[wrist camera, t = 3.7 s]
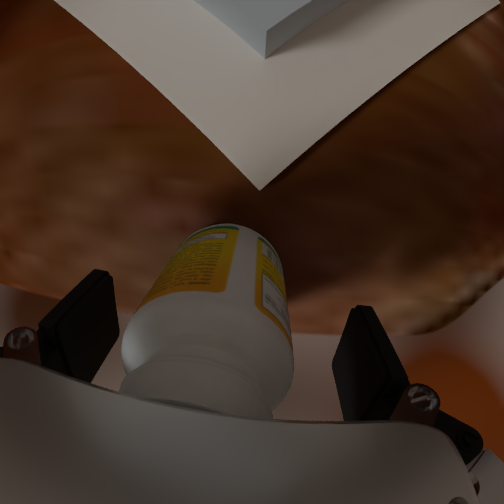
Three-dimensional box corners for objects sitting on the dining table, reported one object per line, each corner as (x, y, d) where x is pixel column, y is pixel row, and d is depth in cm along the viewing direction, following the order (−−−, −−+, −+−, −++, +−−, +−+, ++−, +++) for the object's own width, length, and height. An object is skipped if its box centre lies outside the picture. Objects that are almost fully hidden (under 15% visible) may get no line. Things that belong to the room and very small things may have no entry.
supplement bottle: (301, 249, 14) (353, 422, 5) (253, 330, 16) (246, 497, 7) (196, 201, 13) (88, 331, 4) (161, 292, 15) (84, 445, 6)
